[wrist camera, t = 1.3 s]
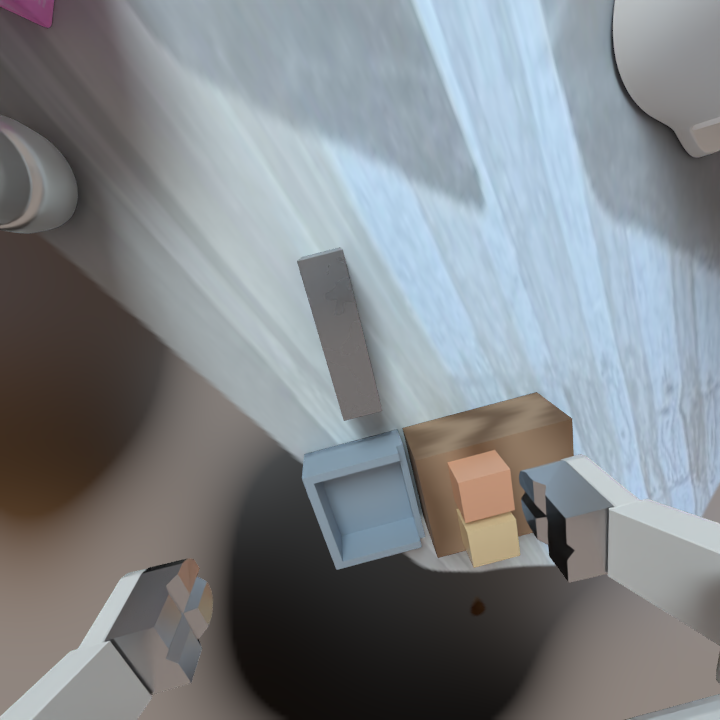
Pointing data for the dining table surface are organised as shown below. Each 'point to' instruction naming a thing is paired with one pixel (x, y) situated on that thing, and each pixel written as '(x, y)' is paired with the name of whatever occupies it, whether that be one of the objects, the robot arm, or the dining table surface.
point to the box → (364, 499)
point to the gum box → (31, 10)
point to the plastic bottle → (33, 181)
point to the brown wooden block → (479, 435)
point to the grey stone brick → (340, 332)
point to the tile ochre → (490, 538)
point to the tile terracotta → (481, 486)
